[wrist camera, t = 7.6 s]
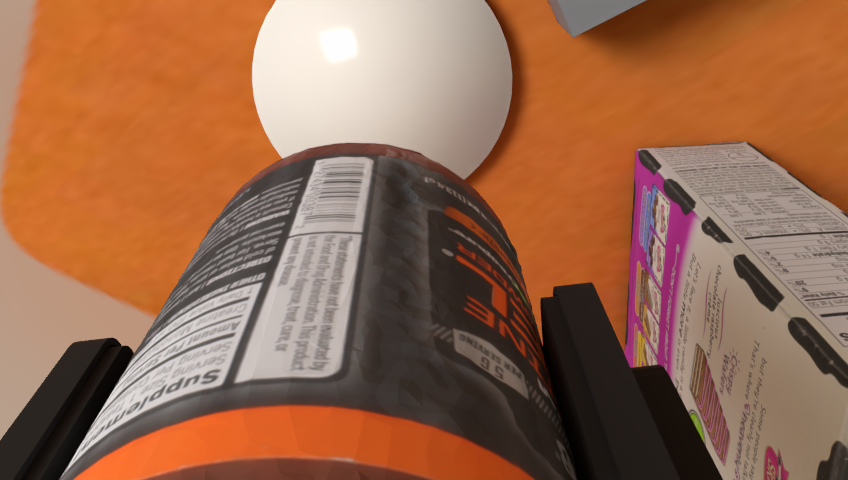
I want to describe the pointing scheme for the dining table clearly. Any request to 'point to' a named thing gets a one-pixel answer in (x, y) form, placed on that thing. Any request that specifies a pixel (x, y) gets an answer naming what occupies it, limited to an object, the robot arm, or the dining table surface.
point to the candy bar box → (743, 307)
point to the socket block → (587, 12)
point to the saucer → (384, 77)
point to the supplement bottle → (340, 339)
